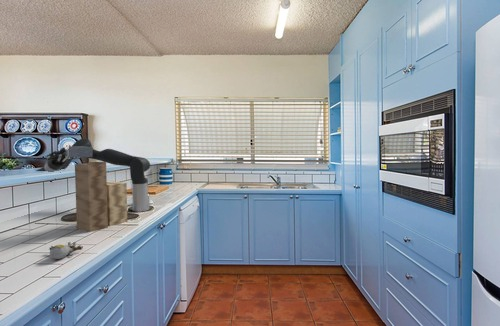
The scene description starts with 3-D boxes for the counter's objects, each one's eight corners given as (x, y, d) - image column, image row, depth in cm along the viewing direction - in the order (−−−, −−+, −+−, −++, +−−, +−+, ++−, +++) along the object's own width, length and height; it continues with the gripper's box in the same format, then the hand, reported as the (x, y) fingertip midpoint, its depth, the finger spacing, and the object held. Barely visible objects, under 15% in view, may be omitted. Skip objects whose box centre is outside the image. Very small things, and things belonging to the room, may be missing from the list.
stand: (94, 224, 158) (92, 160, 156) (107, 227, 152) (106, 161, 150) (76, 228, 151) (74, 161, 149) (90, 231, 144) (88, 162, 142)
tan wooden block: (114, 218, 170) (113, 181, 169) (127, 221, 163) (126, 183, 162) (96, 222, 162) (95, 183, 160) (110, 225, 155) (109, 185, 154)
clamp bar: (70, 154, 164) (70, 145, 164) (92, 157, 153) (92, 147, 152) (56, 155, 159) (56, 145, 158) (78, 157, 147) (78, 147, 146)
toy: (88, 238, 124) (73, 245, 109) (87, 251, 123) (73, 260, 109) (56, 239, 122) (36, 246, 107) (55, 252, 121) (36, 262, 106)
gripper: (69, 169, 173) (83, 154, 164) (42, 171, 161) (55, 155, 152) (65, 157, 174) (79, 142, 166) (38, 158, 163) (51, 142, 154)
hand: (67, 148), depth 159 cm, fingers closed on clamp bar, 2 cm apart
